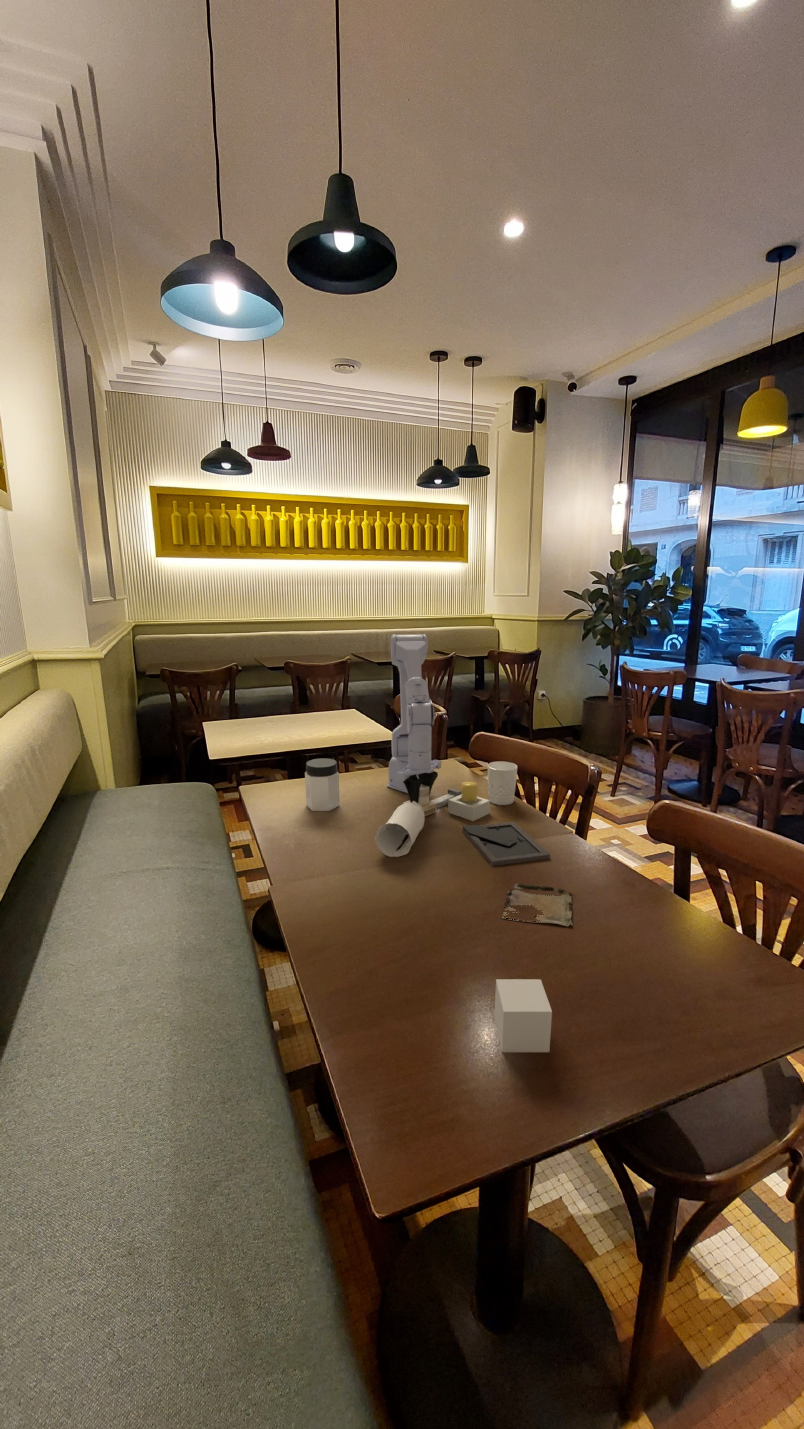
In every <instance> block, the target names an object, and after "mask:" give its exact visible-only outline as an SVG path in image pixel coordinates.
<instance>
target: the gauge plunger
mask: <svg viewBox="0 0 804 1429" xmlns="http://www.w3.org/2000/svg"><path fill="white" fill-rule="evenodd" d="M461 791H462V792H461V799H462V800H463V801H466V802H474V801H476V800H477V797H478V783H477V782H475V781H462V782H461Z"/></svg>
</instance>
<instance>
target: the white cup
mask: <svg viewBox="0 0 804 1429" xmlns="http://www.w3.org/2000/svg"><path fill="white" fill-rule="evenodd" d="M517 776H518V765H517V764H516V763H514V762H511V761H510V762H509V761H492V762H489V763H488V764H487V792H488V800H490V804H494V805H498V806H499V805H500V806H508V805H512V804H513V803H514V802H515V792H516V785H517Z"/></svg>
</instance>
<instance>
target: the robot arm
mask: <svg viewBox="0 0 804 1429" xmlns="http://www.w3.org/2000/svg"><path fill="white" fill-rule="evenodd" d="M428 641H429V640H428V636H427V635H426V634H425V633H423V634H395V633H394V634H392V635H391V636H390V661H391V664H392V665H393V666H396V668H397V669H398V673H399V690H400V691H399V692H400V694H399V696H400V699H399V700H400V724H399V725H398V726H397V727H396V728H394V729H393V730H392V733H391V742H390V743H391V744H390V746H391V755H392V756H391V759H390V760H389V763H388V784H386V787H388V788H391V789H394V790H397V791H400V792H403V793H405V794H407V795H408V798H409V800H410V802H413V801H415V802H416V803H418V801H419V790H420V786H421V784H423V785H426V786H429V797H430V794H431V791H432V788H433V785H434V784H435V781H436V779H437V778H438V776H439V774H438V773H439V772H437V771H435V770H436V769H437V770H440V769H442V761H441V760H438V759H433V760H432V726H434V722H435V706H434V703H433V702H432V701H433V700H432V698H430V694H429V689H428V687H429V686H428V682H427V680H425V679H423V676H422V665H423V664H424V662H425V660H426V657H427V655H428V650H429V646H428V645H429V644H428V643H429V642H428Z"/></svg>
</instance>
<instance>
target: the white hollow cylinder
mask: <svg viewBox="0 0 804 1429" xmlns="http://www.w3.org/2000/svg"><path fill="white" fill-rule="evenodd" d="M425 817H426V816H425V815H424V812H423V807H421V805H420V804H418V803H416V802H415V801H413V802H408V803H405V804H400V805H398V807H397V808H396V809H394V811H393V813H392V815H390V818H389V819H388V820H387V822H386V823H384V824H383V825H381V826H379V827H378V830H377V831H376V833H375V837H374V840H375V843H376V846H377V848H378V850H380V852H381V853H382V854H384V855H385V856H388V857H390V858H392V857H396V858H399V857H401V856H405V855H407V854H408V853H409V852H410V851H411V847H412V846H413V845H414V843H415V841H416V838H417V837H418V835H419V833H420V832H421V831H422V829H423V828H424V825H425ZM406 835H407V837H408V838H406V840H405V841H404V843H403V840H404V839H405V837H406ZM402 843H403V844H402ZM400 846H401V847H400ZM399 847H400V848H399ZM398 848H399V849H398Z"/></svg>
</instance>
